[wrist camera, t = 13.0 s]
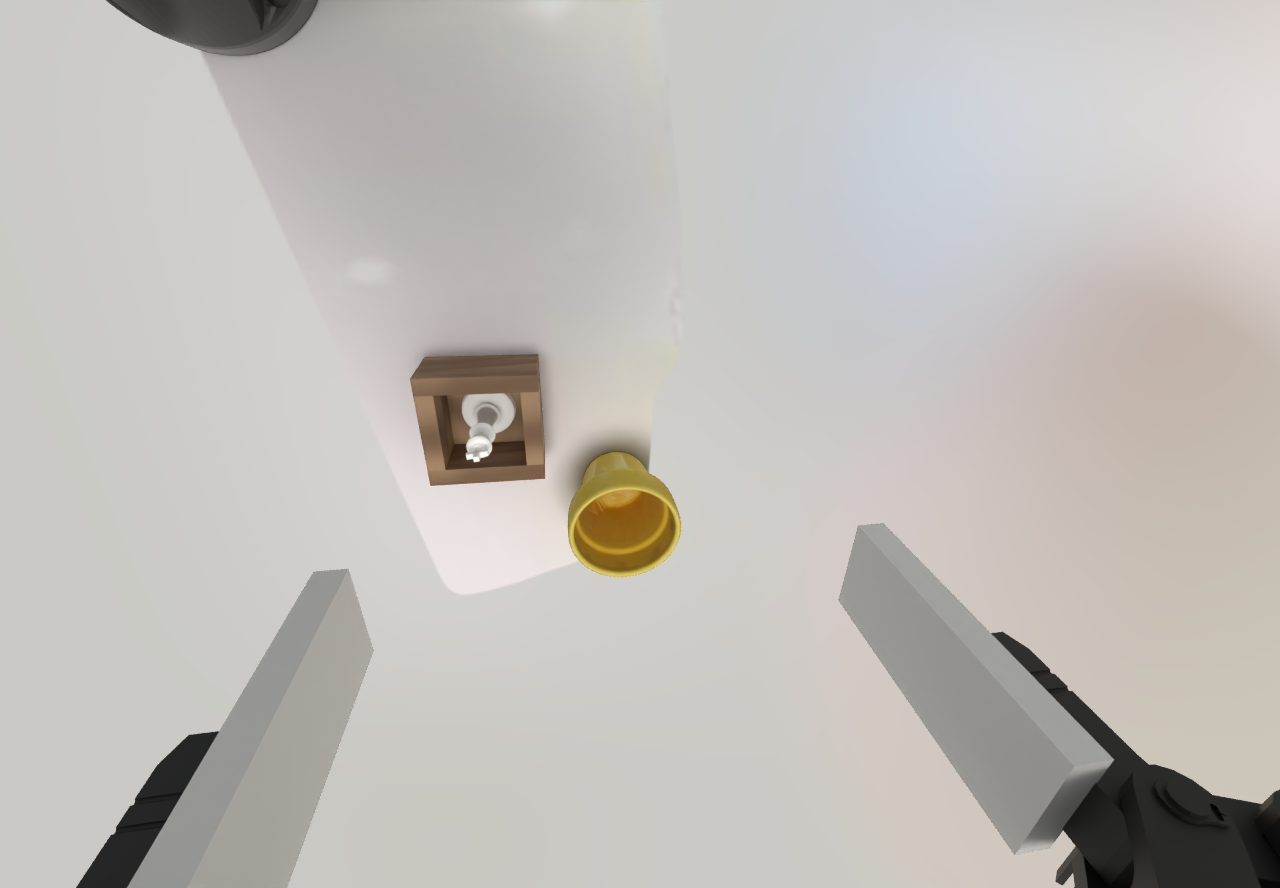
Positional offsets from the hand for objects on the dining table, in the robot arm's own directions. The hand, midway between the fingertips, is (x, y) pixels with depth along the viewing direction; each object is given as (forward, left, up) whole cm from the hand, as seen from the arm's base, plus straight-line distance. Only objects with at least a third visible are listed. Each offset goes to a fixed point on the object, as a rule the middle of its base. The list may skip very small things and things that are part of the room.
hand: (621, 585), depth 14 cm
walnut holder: (+10, -8, -37) cm, 39 cm away
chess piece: (+10, -8, -36) cm, 38 cm away
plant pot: (+19, +4, -37) cm, 42 cm away
